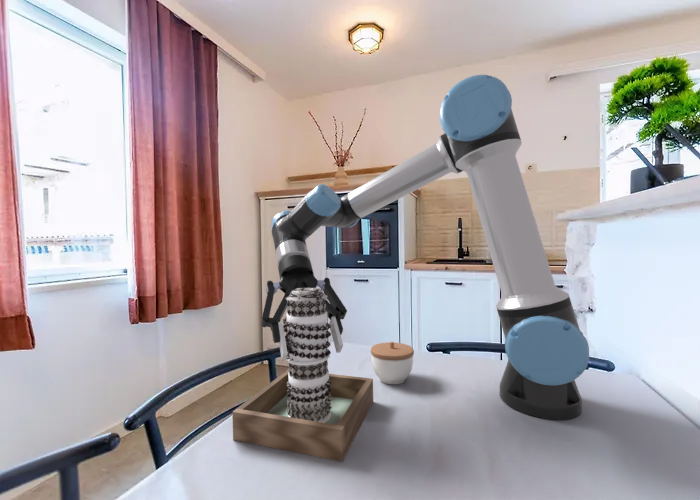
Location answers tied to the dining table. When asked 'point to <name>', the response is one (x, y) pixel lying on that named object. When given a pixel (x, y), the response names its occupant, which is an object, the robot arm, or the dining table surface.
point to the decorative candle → (308, 355)
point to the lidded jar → (392, 361)
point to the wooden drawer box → (304, 435)
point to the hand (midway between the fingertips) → (313, 352)
